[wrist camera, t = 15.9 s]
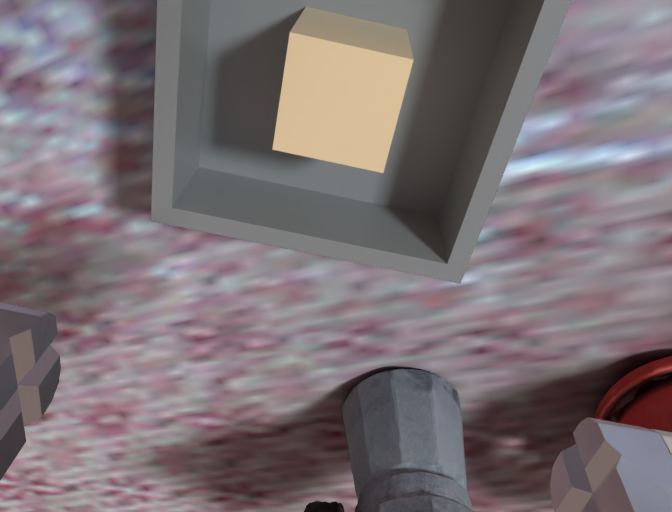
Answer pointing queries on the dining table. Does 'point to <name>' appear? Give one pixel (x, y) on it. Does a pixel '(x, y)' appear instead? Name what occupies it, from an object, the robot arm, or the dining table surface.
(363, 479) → the moka pot
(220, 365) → the dining table surface
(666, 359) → the plant pot
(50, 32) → the dining table surface
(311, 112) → the tan block
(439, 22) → the bin
